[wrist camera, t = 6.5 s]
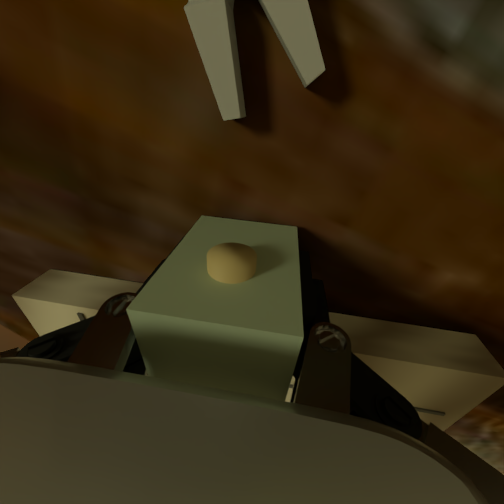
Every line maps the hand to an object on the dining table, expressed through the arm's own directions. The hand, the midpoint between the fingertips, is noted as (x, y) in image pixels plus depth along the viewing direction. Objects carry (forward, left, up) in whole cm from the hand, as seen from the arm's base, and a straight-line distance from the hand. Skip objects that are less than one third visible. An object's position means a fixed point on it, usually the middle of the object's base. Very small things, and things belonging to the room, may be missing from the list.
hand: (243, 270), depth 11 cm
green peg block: (0, +2, -1) cm, 2 cm away
